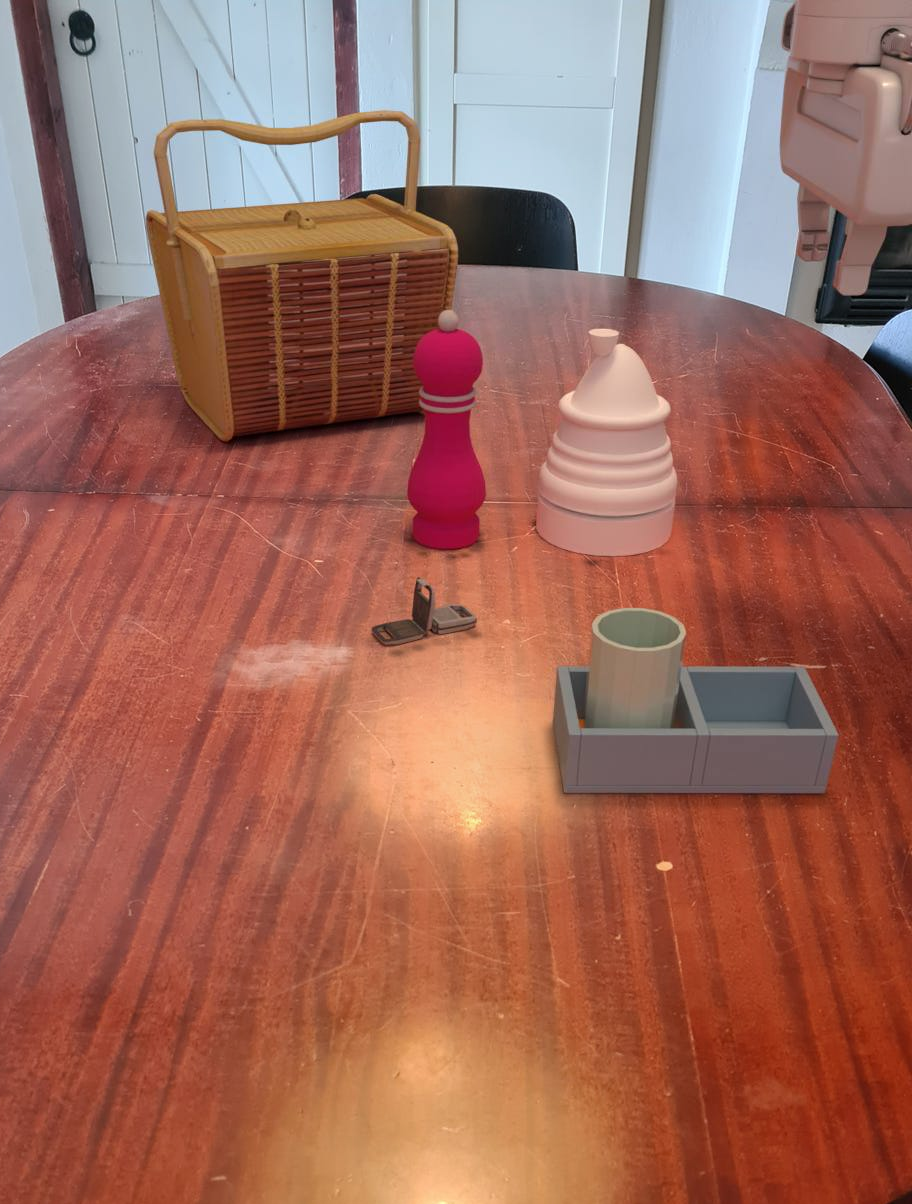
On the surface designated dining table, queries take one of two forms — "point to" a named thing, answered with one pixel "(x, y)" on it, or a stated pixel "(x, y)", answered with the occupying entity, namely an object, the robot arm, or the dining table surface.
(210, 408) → the picnic basket
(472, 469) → the pepper mill
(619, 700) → the cup
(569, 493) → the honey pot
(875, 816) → the dining table surface
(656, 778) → the holder
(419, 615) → the strap clip
